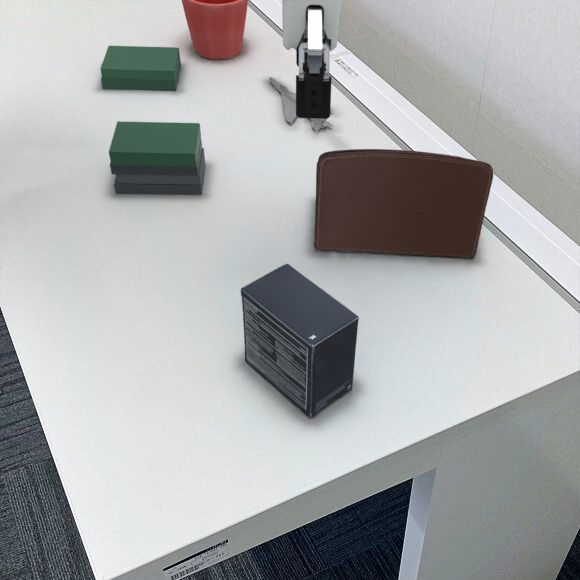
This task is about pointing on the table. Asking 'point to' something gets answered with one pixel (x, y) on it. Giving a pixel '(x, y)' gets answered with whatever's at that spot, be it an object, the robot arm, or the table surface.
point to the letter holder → (400, 202)
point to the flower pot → (216, 26)
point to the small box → (299, 338)
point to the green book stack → (141, 68)
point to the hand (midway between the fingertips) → (312, 90)
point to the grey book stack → (160, 178)
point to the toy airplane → (290, 106)
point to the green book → (155, 144)
